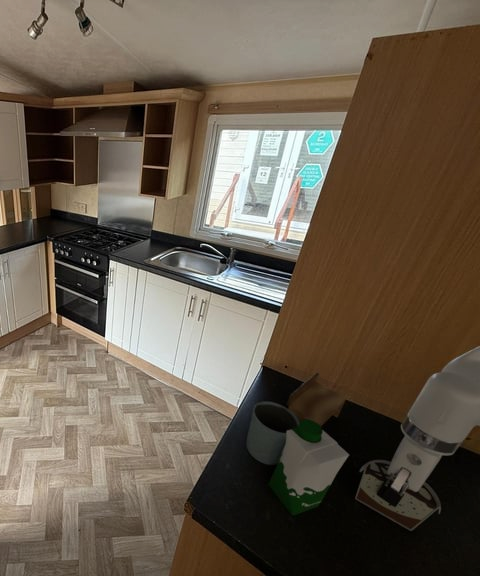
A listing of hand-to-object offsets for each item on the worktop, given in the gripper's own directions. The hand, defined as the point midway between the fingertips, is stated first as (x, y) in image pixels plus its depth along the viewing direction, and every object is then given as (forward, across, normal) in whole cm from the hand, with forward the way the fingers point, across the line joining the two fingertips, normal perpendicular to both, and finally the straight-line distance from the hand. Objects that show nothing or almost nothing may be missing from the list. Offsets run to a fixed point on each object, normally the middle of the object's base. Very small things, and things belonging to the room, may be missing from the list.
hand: (392, 489), depth 67 cm
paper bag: (+5, +12, +20) cm, 24 cm away
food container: (+5, 0, 0) cm, 5 cm away
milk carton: (+5, -14, +12) cm, 20 cm away
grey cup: (+5, -8, +22) cm, 25 cm away
